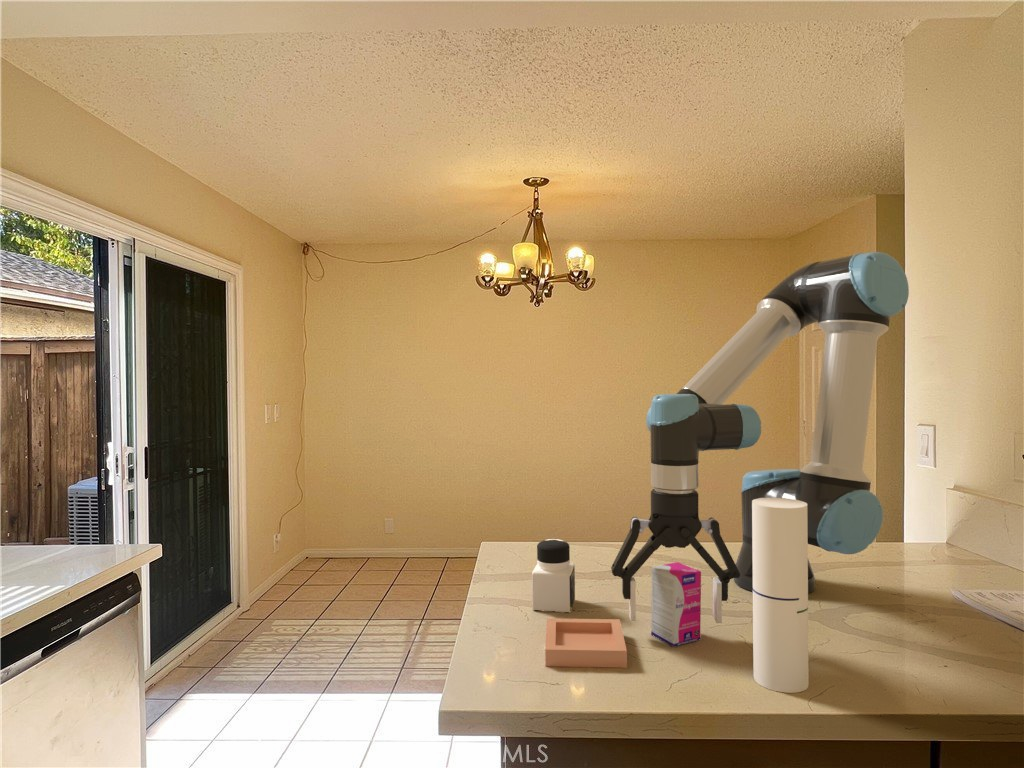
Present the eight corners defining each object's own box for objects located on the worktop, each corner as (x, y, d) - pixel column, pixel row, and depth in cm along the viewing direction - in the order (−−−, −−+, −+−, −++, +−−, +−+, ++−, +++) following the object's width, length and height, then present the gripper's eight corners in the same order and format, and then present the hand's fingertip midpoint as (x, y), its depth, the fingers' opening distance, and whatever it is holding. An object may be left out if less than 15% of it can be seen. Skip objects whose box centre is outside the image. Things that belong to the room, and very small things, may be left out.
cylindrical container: (744, 669, 94) (743, 498, 94) (791, 667, 95) (790, 496, 94) (768, 694, 87) (766, 509, 87) (819, 691, 88) (817, 507, 87)
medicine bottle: (571, 613, 117) (570, 547, 117) (532, 611, 119) (531, 545, 118) (575, 599, 124) (574, 537, 124) (538, 597, 126) (537, 535, 125)
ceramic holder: (619, 634, 108) (619, 619, 108) (627, 667, 96) (626, 650, 96) (547, 633, 109) (547, 618, 109) (545, 666, 97) (545, 649, 97)
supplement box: (674, 648, 102) (674, 575, 102) (650, 634, 107) (649, 566, 107) (702, 640, 105) (701, 570, 104) (677, 627, 110) (676, 560, 110)
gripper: (746, 485, 108) (746, 612, 109) (595, 484, 110) (596, 609, 111) (760, 494, 101) (760, 630, 101) (598, 492, 103) (598, 626, 103)
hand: (674, 619), depth 106 cm, fingers open, 13 cm apart
